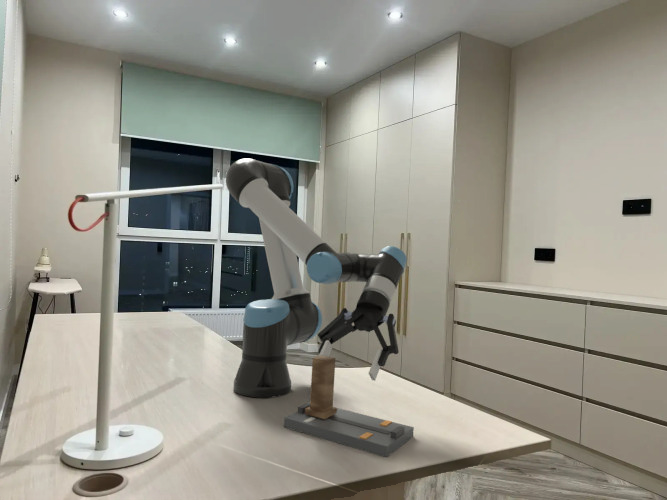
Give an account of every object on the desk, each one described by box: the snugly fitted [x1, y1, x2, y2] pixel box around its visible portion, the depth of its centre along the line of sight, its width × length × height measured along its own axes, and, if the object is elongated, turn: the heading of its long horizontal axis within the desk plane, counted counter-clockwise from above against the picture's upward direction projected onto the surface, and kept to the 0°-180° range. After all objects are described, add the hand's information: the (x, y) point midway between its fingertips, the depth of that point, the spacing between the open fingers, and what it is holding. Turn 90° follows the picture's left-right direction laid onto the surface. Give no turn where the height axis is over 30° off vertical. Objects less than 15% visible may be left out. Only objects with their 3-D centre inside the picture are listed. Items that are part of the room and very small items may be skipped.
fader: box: [305, 355, 338, 419], centre depth 111 cm, size 5×5×12 cm
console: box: [283, 402, 415, 458], centre depth 107 cm, size 24×13×3 cm, turn 59°
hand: (344, 371), depth 113 cm, fingers open, 13 cm apart
